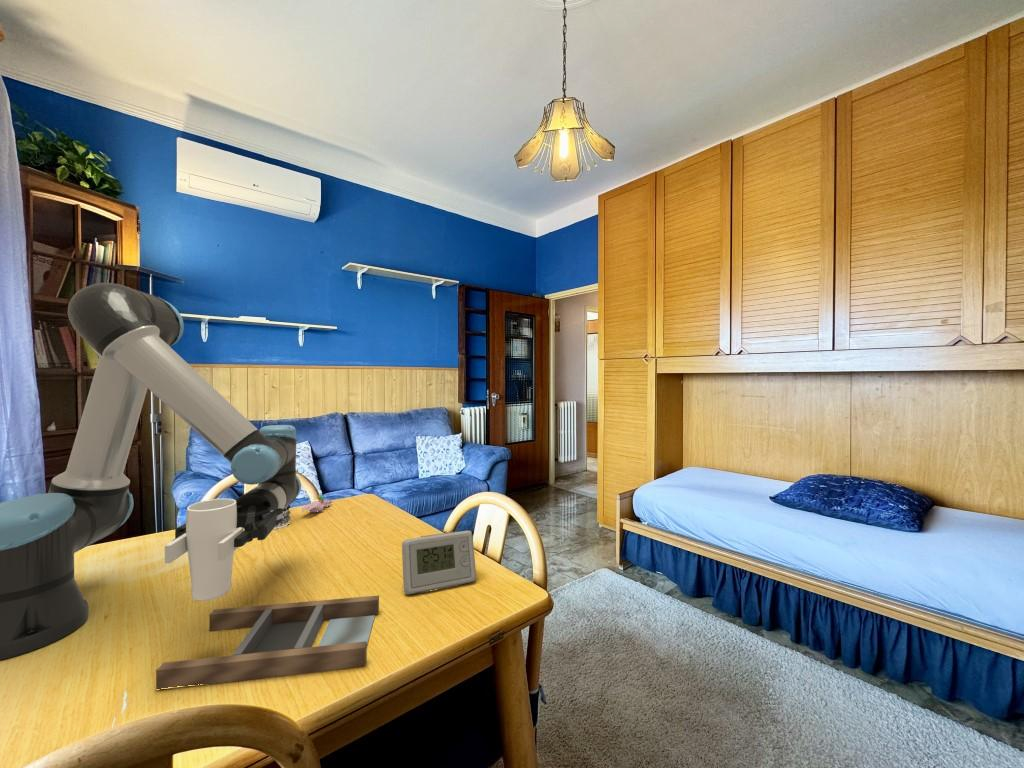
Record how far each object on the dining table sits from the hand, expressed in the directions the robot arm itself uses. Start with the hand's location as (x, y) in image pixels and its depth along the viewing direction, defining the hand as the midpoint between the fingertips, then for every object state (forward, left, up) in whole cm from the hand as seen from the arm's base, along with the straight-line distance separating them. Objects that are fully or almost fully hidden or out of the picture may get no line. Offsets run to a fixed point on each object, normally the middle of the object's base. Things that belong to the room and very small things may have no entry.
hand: (194, 553), depth 62 cm
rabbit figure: (-3, +77, -19) cm, 79 cm away
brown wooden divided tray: (+11, +5, -19) cm, 23 cm away
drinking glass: (0, +5, -9) cm, 10 cm away
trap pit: (+11, +5, -19) cm, 23 cm away
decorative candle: (-13, +66, -19) cm, 69 cm away
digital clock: (+37, +21, -19) cm, 47 cm away
